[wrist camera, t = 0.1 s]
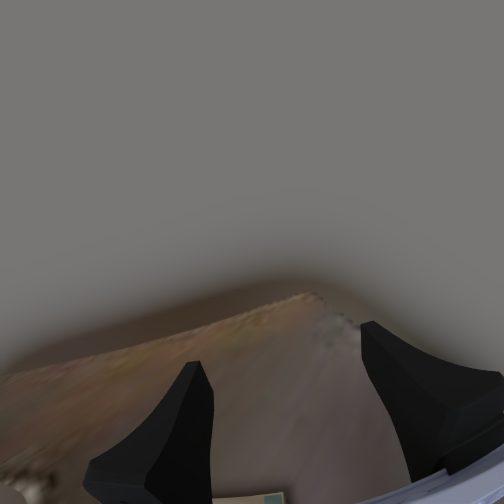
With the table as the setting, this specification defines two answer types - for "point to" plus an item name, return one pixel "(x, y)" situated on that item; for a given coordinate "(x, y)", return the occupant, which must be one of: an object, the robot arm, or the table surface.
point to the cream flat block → (253, 499)
